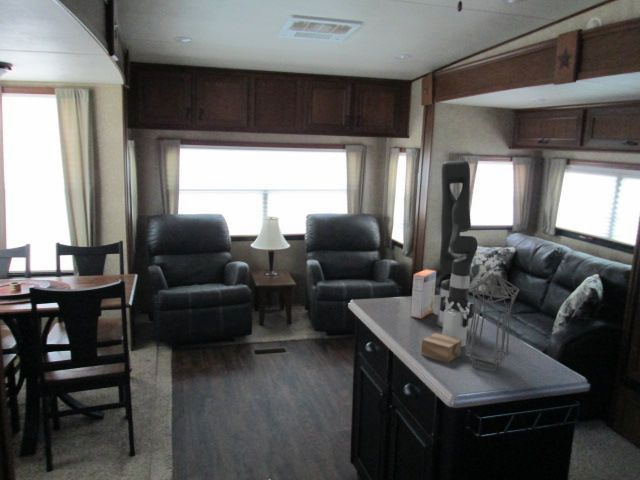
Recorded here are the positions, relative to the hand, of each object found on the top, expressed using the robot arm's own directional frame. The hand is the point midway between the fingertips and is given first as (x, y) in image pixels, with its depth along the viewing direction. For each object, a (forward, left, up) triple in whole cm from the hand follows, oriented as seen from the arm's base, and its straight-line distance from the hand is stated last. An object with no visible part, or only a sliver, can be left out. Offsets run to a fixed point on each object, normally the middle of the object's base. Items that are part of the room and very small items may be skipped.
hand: (455, 324), depth 213 cm
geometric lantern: (+11, +18, -9) cm, 23 cm away
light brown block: (+13, +1, -9) cm, 16 cm away
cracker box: (-26, -29, -9) cm, 40 cm away
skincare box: (0, 0, -9) cm, 9 cm away
